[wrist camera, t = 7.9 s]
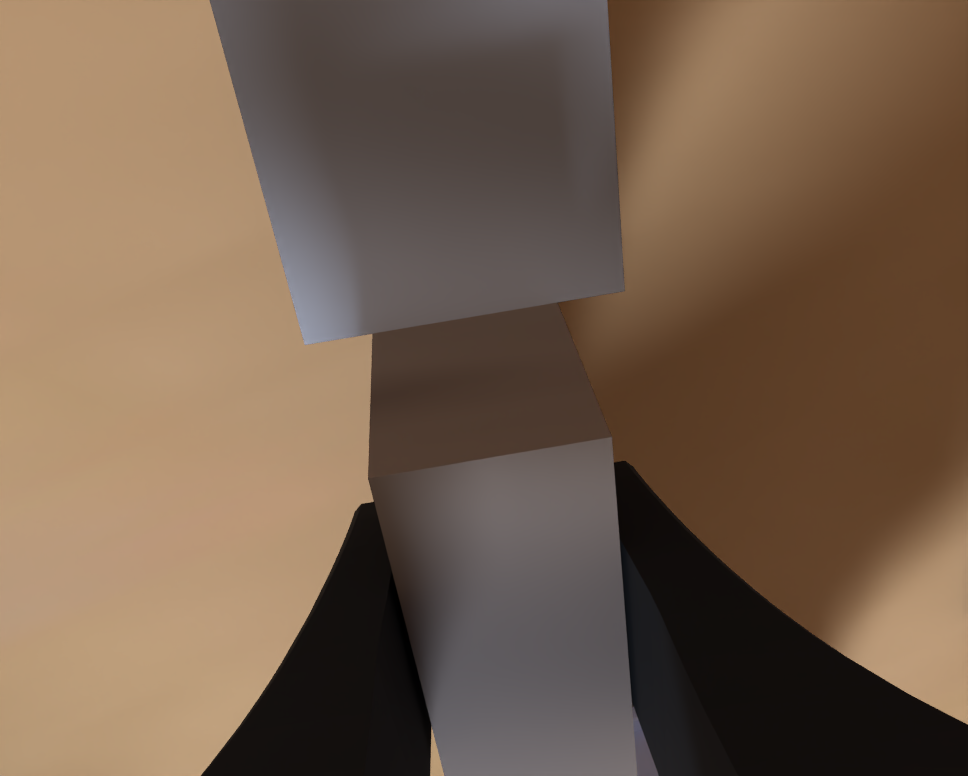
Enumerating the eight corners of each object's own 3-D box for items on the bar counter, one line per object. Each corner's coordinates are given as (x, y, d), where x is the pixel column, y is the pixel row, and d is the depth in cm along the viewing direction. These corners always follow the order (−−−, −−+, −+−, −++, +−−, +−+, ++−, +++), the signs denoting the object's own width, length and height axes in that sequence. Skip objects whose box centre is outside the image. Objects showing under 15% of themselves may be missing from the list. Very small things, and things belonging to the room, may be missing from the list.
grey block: (634, 579, 16) (705, 775, 12) (388, 622, 16) (389, 830, 12) (588, -122, 10) (693, -123, 7) (203, -60, 10) (108, -28, 7)
